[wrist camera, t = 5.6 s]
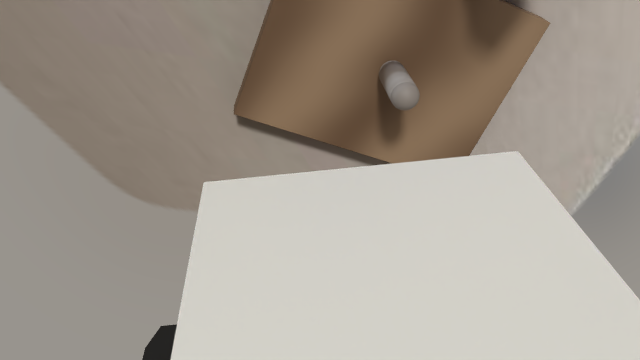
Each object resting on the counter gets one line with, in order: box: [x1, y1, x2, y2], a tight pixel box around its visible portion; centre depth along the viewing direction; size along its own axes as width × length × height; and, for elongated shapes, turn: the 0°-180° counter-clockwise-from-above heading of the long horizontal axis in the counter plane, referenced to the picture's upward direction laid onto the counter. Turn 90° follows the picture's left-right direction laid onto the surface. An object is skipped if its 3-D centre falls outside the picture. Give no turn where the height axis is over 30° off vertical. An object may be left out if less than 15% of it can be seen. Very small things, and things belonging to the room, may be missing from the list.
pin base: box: [234, 0, 550, 164], centre depth 24 cm, size 12×9×5 cm
